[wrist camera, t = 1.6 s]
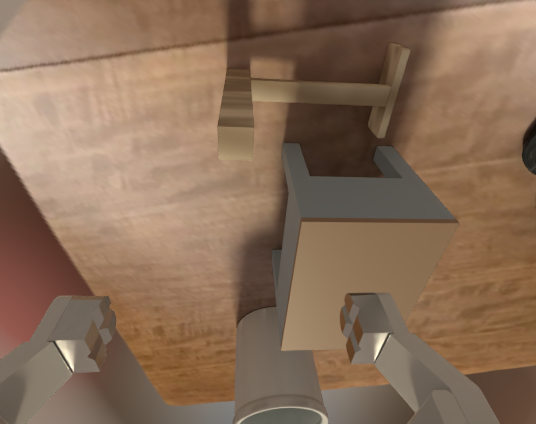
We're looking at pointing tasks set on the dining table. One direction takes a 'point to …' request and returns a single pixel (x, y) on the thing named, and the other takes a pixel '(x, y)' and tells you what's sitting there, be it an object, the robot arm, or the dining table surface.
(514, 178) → the dining table surface
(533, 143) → the coffee maker
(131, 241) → the dining table surface
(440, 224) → the wooden top stool
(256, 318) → the utensil holder
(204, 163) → the dining table surface
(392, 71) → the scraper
